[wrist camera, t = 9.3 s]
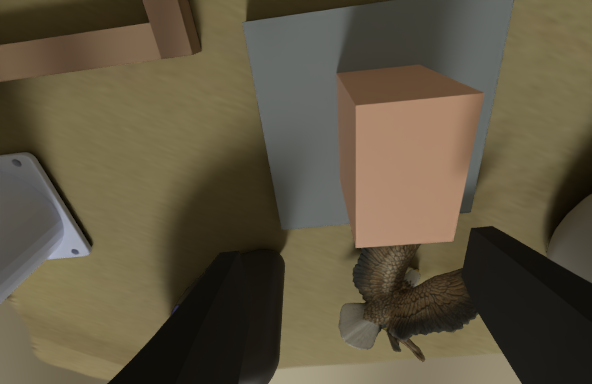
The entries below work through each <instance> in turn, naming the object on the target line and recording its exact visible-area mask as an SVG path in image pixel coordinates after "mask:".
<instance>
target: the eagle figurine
mask: <svg viewBox="0 0 592 384" xmlns="http://www.w3.org/2000/svg"><path fill="white" fill-rule="evenodd" d="M419 246H420V244H408V245H393V246H379V247H364V248H362V253H361V254H360V257H359V259H358V264H356V265H355V267H354V268H353V277H354V278H353V282H354V283H355V287H356V288H358V290H359V293H360V294H362V295H363V300H365V301H366V302H365V303H347V304H344V305H343V306H342V309H341V311H340V320H339V329H340V333H341V337H342V338H343V339H344V340H345V342H346V343H347V344H349V345H351V346H353V347H354V348H358V349H361V350H364V349H366V350H368V349H370V348H372V346H373V344H374V342H375V339H376V337H377V335H378V333H379V332H380V331H381V328H382V329H383V330H386V332H387V335H388V337H389V340H390V343H391V346H392V348H393V350H394V351H395V352H401V349H400V347H399V341H400V342H401V343H403V344H404V345H405V346H407V347H408V348H409V349H410V350H411V351H412V352H413V353H414V355H415V356H416V357H417V358H418V359H419V360H421V361H422V362H424V361H425V358H424V355H423V354H422V352H421V350H420V348H419V347H418V346H416V345H415V344H414V343H413V342H412V341H411V340H410V339H409V338H410V337H411V336H412V335H418V334H423V335H427V334H428V333H432V332H437V333H440V332H442V331H446V332H455V331H456V330H457V329H462V328H463V324H469V321H470V320H472V319H475V318H476V316H477V315H478V314H479V313H478V312H477V310H476V308H475V306H474V304H473V302H472V300H471V298H470V296H469V293H468V291H467V289H466V287H465V284H464V282H463V280H462V277H461V275H462V270H463V268H461V269H458V270H455V271H452V272H450V273H444V274H441V275H437V276H434V277H432V278H430V279H428V280H426V281H425V282H423V283H422V284H420V285H418V286H416V285H417V282H418V280H419V279H420V274H419V270H418V269H415V270H413V269H412V270H410V271H409V272H408V273H407V274H406V275H405V273H406V270H407V268H408V266H409V264H410V262H411V260H412V259H413V257H414V255H415V252H416V250H417V249H418V247H419Z"/></svg>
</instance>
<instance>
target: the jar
mask: <svg viewBox="0 0 592 384" xmlns="http://www.w3.org/2000/svg"><path fill="white" fill-rule="evenodd" d="M547 258H548V259H550V260H552V261H554V262H555V263H557V264H559V265H560V266H562V267H564V268H566V269H567V270H569V271H571V272H573V273H575V274H576V275H578V276H580V277H582V278H583V279H585V280H587V281H589V282H591V283H592V194H590V195H589V196H587V197H586V198H585V199H583V200H582V201H581V202H580V203H579V204H578V205H577V206H576V207H575V208H573V209H572V210H571V211H570V212H569V213H568V214H567V215H566V216H565V218H564V219H563V220H562V221H561V223H560V224H559V225H558V226H557V228H556V229H555V232H554V234H553V236H552V238H551V240H550V243H549V246H548V249H547Z"/></svg>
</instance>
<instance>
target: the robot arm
mask: <svg viewBox="0 0 592 384" xmlns="http://www.w3.org/2000/svg"><path fill="white" fill-rule="evenodd" d="M18 160H19V161H20V162H21V163H19V161H18ZM91 251H92V248H91V246H90V245H89V243H88V241H87V240H86V238H85V236H84V235H83V233H82V232H81V230H80V228H79V227H78V225H77V223H76V222H75V220H74V219H73V217H72V215H71V214H70V212H69V210H68V209H67V207H66V206H65V204H64V202H63V201H62V199H61V197H60V196H59V194H58V193H57V191H56V189H55V188H54V186H53V184H52V183H51V181H50V180H49V178H48V176H47V175H46V173H45V171H44V170H43V168H42V167H41V165H40V163H39V162H38V160H37V159H36V157H35V156H34V155H32V154H30V153H28V152H22V153H14V154H6V155H0V304H1V303H2V302H3V301H4V300H5V299H6V298H7V297H8V296H9V295H10V294H11V293H12V292H13V291H14V290H15V289H16V288H17V287H18V286H19V285H20V284H21V283H22V282H23V281H24V280H25V279H27V278H28V277H29V276H30V275H31V274H32V273H33V272H34V271H35V270H36V269H37V268H38V267H39V266H40V265H41V264H42V263H43V262H44V261H45V260H47V259H58V258H69V257H79V256H87V255H89V254H90V252H91ZM461 277H462V280H463V282H464V284H465V287H466V289H467V291H468V293H469V296H470V298H471V300H472V302H473V304H474V306H475V308H476V310H477V312H478V313H479V315H480V317H481V318H482V320H483V322H484V323H485V325H486V326H487V328H488V330H489V331H490V333H491V335H492V336H493V338H494V339H495V341H496V343H497V344H498V346H499V348H500V349H501V351H502V352H503V354H504V356H505V357H506V359H507V360H508V362H509V364H510V365H511V367H512V369H513V370H514V372H515V373H516V375H517V377H518V378H519V380H520V381H521V383H522V384H592V283H591V282H589V281H587V280H585V279H583V278H582V277H580V276H578V275H576V274H575V273H573V272H571V271H569V270H567V269H566V268H564V267H562V266H560V265H559V264H557V263H555V262H554V261H552V260H550V259H548V258H547V257H545V256H543V255H542V254H540V253H538V252H536V251H535V250H533V249H531V248H530V247H528V246H526V245H525V244H523V243H521V242H519V241H518V240H516V239H514V238H513V237H511V236H509V235H507V234H506V233H504V232H502V231H500V230H498V229H497V228H495V227H493V226H489V227H478V228H471V231H470V236H469V241H468V246H467V251H466V255H465V260H464V265H463V270H462V275H461ZM251 297H252V294H251V291H250V288H249V284H248V281H247V278H246V274H245V271H244V267H243V264H242V261H241V257H240V254H239V251H233V252H223V253H219V255H218V256H217V257H216V258H215V260H214V261H213V262H212V264H211V265H210V266H209V268H208V269H207V270H206V272H205V273H204V274H203V276H202V277H201V278H200V280H199V281H198V282H197V284H196V285H195V286H194V288H193V289H192V290H191V291H190V293H189V294H188V295H187V296H186V298H185V299H184V300H183V302H182V303H181V304H180V305H179V307H178V308H177V309H176V310H175V312H174V313H173V314H172V315H171V316H170V317H169V319H168V320H167V321H166V322H165V323H164V324H163V326H162V327H161V328H160V329H159V330H158V331H157V333H156V334H155V335H154V336H153V337H152V338H151V339H150V341H149V342H148V343H147V344H146V345H145V346H144V347H143V348H142V349H141V350H140V351H139V352H138V354H137V355H136V356H135V357H134V358H133V359H132V360H131V361H130V362H129V363H128V364H127V365H126V366H125V367H124V368H123V369H122V370H121V371H120V372H119V373H118V374H117V375H116V376H115V377H114V378H113V379H112V380H111V381H110V382H109V383H108V384H238V382H239V377H240V372H241V367H242V362H243V356H244V351H245V346H246V341H247V336H248V330H249V323H250V312H251Z"/></svg>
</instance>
